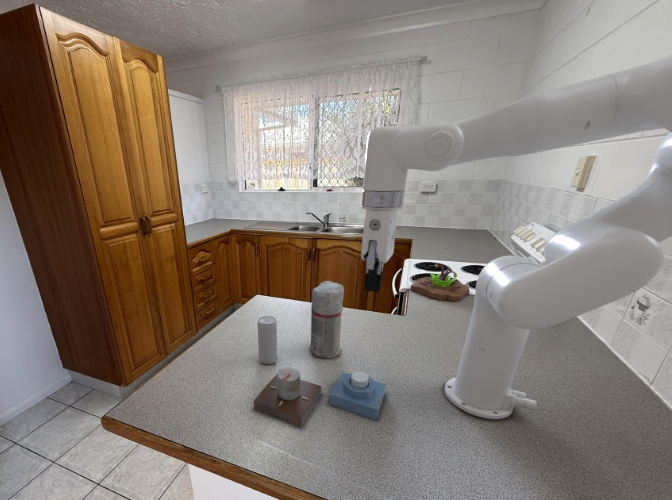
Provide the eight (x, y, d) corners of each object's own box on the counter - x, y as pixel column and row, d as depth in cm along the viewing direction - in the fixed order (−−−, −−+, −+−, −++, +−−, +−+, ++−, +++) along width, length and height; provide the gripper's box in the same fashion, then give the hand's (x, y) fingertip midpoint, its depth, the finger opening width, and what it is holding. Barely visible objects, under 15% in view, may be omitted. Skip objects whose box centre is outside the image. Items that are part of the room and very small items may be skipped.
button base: (384, 393, 70) (387, 377, 68) (376, 420, 63) (378, 402, 61) (341, 380, 75) (342, 365, 73) (328, 404, 67) (330, 387, 66)
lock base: (321, 395, 70) (321, 385, 69) (301, 428, 61) (301, 417, 60) (278, 380, 75) (278, 371, 74) (254, 409, 66) (253, 399, 65)
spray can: (339, 361, 82) (345, 291, 74) (308, 358, 84) (310, 289, 76) (339, 344, 90) (345, 279, 82) (311, 342, 91) (313, 277, 83)
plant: (426, 279, 139) (431, 255, 135) (474, 291, 125) (481, 264, 121) (403, 290, 128) (407, 264, 123) (453, 304, 114) (459, 275, 109)
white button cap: (369, 381, 68) (370, 374, 67) (365, 391, 65) (366, 383, 64) (353, 376, 69) (353, 369, 69) (348, 386, 67) (349, 378, 66)
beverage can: (265, 353, 86) (263, 314, 82) (280, 358, 84) (279, 318, 79) (255, 362, 82) (253, 321, 78) (271, 367, 80) (270, 326, 75)
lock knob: (283, 383, 70) (283, 363, 68) (303, 389, 68) (303, 369, 66) (273, 396, 66) (273, 375, 64) (294, 403, 64) (294, 382, 62)
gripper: (397, 205, 52) (384, 306, 59) (408, 197, 64) (396, 281, 71) (352, 203, 55) (344, 299, 62) (370, 196, 67) (362, 277, 74)
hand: (372, 289), depth 66 cm, fingers closed
